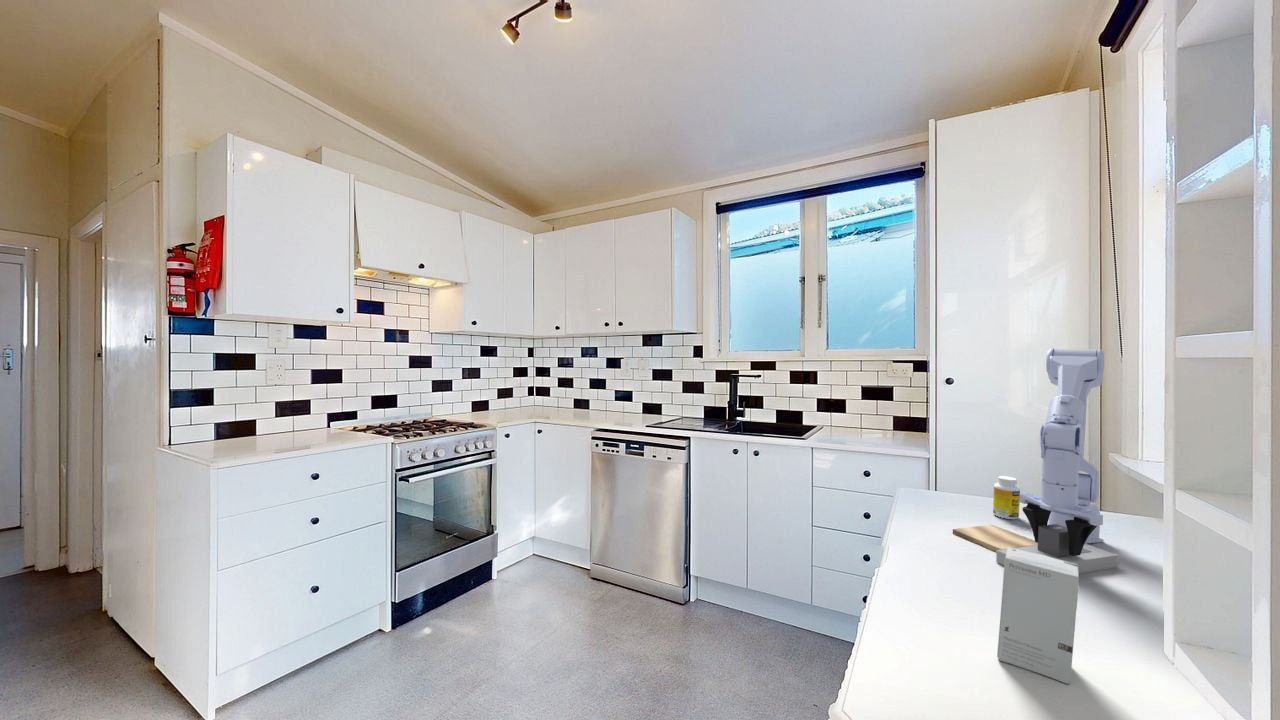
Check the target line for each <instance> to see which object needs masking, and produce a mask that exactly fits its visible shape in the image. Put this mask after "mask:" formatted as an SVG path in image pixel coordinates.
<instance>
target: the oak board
mask: <svg viewBox="0 0 1280 720" xmlns="http://www.w3.org/2000/svg"><path fill="white" fill-rule="evenodd" d="M952 534H954V535H955V534H956V536H958V537H961V538H963V539H965V540H967V541H970V542H972V543H974V544H977V545H980V546H981V545H982V547H985V548H986V547H987V548H986V549H989V550H991V551H994V552H996V553H997V550H1002V549H1007V548H1018V547H1025V546H1033V545H1038V543H1037V542H1035V539H1034V540H1033V539H1031V538H1029V537H1026V536H1023V535H1020V534H1018V533H1016V532H1012V531H1009V530H1008V529H1005V528H1002V527H999V526H996V525H994V524H987V525H986V524H985V525H979V526H978V525H977V526H968V527H960V528H953V529H952Z"/></svg>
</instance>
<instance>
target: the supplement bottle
mask: <svg viewBox="0 0 1280 720" xmlns="http://www.w3.org/2000/svg"><path fill="white" fill-rule="evenodd" d="M1017 482H1018V480H1017V478H1015V477H1012V476H1006V475H1000V476H998V477H997V483H994V485H993V500H992V502H993V503H992V513H993V515H994V516H995V515H996V517H997V516H998V518H1000V517H1001V519H1004V518H1005V519H1004V520H1017V519H1018V518H1019V517H1020V504H1021V503H1020V494H1021V488H1020V487H1019V486H1018V485H1017V484H1018V483H1017Z"/></svg>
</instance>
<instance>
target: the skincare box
mask: <svg viewBox="0 0 1280 720" xmlns="http://www.w3.org/2000/svg"><path fill="white" fill-rule="evenodd" d="M1003 567H1004V568H1003V576H1002V577H1003V579H1002V590H1001V591H1002V592H1001V594H1002V595H1001V602H1000V603H1001V604H1000V606H1001V607H1000V617H999V627H998V628H999V629H998V639H997V640H998V642H997V655H996V657H997V659H998V661H1001V662H1004V663H1006V664H1010V665H1013V666H1017V667H1019V668H1022V669H1025V670H1027V671H1030V672H1033V673H1037V674H1039V675H1043V676H1045V677H1048V678H1050V679H1054V680H1056V681H1059V682H1062V683H1064V684H1068V685H1069V684H1071V682H1072V666H1073V653H1074V644H1075V643H1074V641H1075V631H1076V620H1077V619H1076V617H1077V609H1078V595H1079V582H1080V581H1079V580H1080V578H1079V574H1080V573H1079V569H1078V565H1077V564H1074V563H1070V562H1066V561H1062V560H1059V559H1055V558H1051V557H1048V556H1045V555H1041V554H1036V553H1031V552H1026V551H1022V550H1018V549H1013V548H1007V551H1006V557H1005V565H1003Z"/></svg>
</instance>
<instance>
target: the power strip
mask: <svg viewBox="0 0 1280 720" xmlns="http://www.w3.org/2000/svg"><path fill="white" fill-rule="evenodd" d="M1013 549H1018V550H1022V551H1026V552H1031V553H1036V554H1041V555H1045V556H1048V557H1051V558H1055V559H1059V560H1062V561H1066V562H1070V563H1074V564H1077V565H1078V569H1079V574H1083V573H1084V574H1085V573H1089V572H1096V571H1102V570H1107V569H1113V568H1114V569H1115V568H1118V566H1119V565H1118V564H1119V554H1116V553H1114V552H1111V551H1108V550H1104V549H1101V548H1099V547H1095V546H1094V545H1090V544H1089V543H1088V544H1084V546H1083V549H1082V551H1081V555H1078V556H1069V557H1062V558H1057V557H1054V556H1052V555H1049V554H1047V553H1044V552H1042V551H1039V550H1038V545H1033V546H1025V547H1018V548H1013ZM1006 551H1007V549H1002V550H997V552H996V557H995V559H996V561H995V562H996V563H997V564H999V565H1002V566H1004V565H1005V557H1006Z"/></svg>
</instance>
